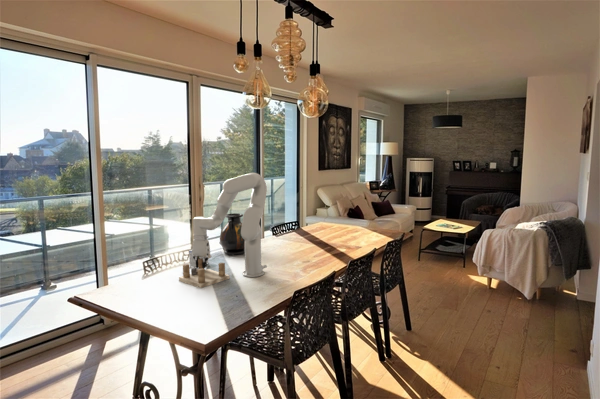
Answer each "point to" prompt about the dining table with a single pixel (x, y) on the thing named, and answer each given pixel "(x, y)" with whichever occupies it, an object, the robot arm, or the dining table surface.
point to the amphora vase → (232, 235)
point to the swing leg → (194, 270)
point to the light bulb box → (192, 260)
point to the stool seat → (204, 276)
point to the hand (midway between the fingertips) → (201, 267)
